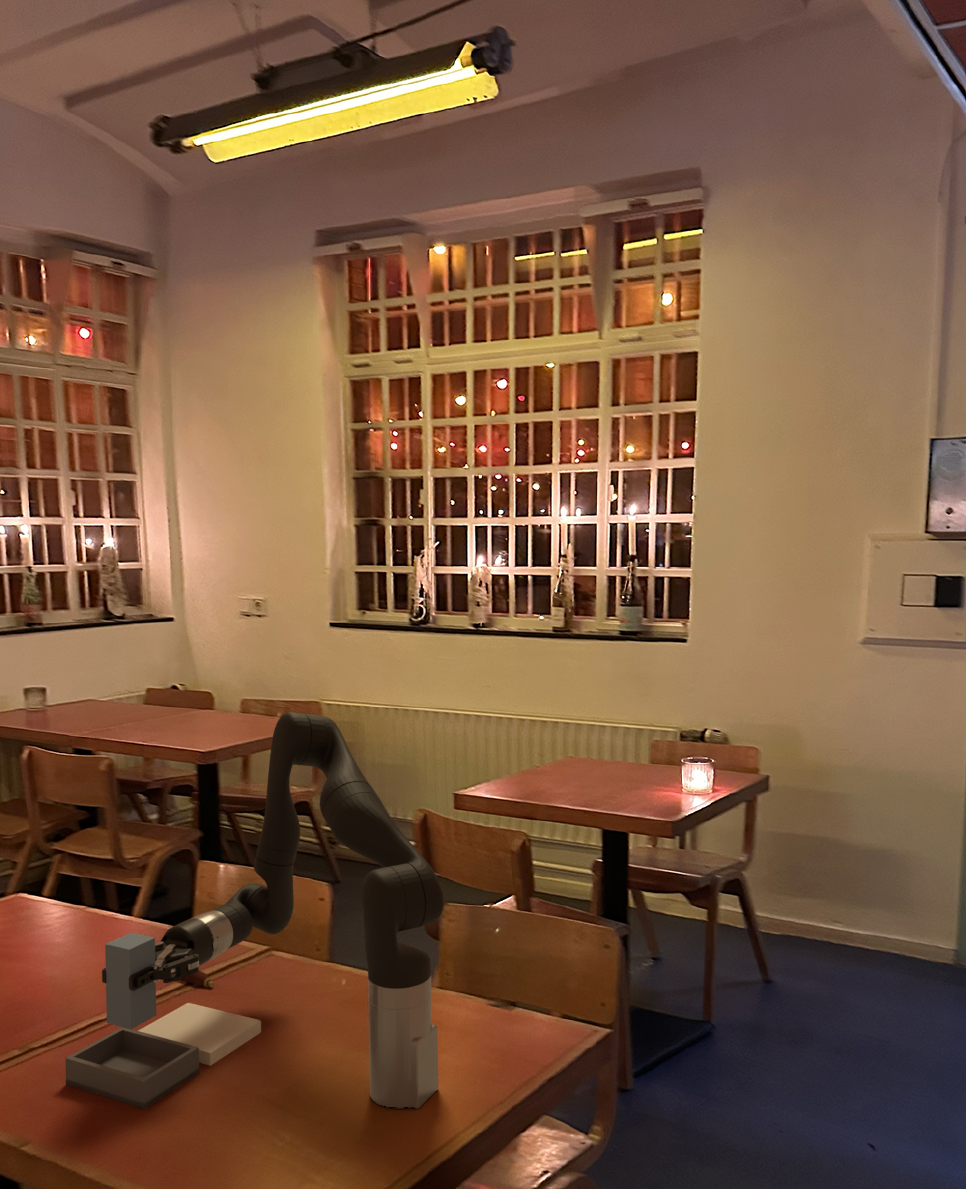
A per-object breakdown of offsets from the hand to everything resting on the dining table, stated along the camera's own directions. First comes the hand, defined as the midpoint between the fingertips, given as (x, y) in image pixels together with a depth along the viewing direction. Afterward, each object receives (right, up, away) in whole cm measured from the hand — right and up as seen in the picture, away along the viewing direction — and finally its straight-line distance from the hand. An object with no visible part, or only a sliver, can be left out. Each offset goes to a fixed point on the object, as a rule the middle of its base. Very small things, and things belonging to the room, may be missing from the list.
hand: (117, 980), depth 142 cm
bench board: (+8, -16, +15) cm, 23 cm away
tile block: (+1, -7, +3) cm, 7 cm away
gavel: (-4, -16, +40) cm, 44 cm away
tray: (+1, -16, +2) cm, 16 cm away
